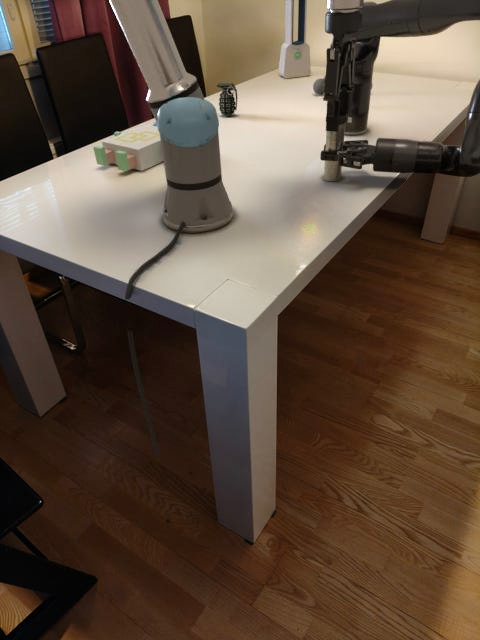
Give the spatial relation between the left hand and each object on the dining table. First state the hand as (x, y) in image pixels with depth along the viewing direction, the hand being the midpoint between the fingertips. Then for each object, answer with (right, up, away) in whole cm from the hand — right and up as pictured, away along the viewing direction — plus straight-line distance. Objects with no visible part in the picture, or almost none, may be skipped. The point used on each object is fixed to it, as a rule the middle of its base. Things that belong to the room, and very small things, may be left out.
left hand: (336, 125), depth 114 cm
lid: (0, +2, -1) cm, 2 cm away
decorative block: (-50, +1, +26) cm, 56 cm away
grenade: (-27, +26, +56) cm, 67 cm away
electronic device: (+1, +62, +100) cm, 117 cm away
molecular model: (+17, +37, +67) cm, 78 cm away
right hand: (-3, -5, +4) cm, 7 cm away
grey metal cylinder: (0, -10, +8) cm, 13 cm away
